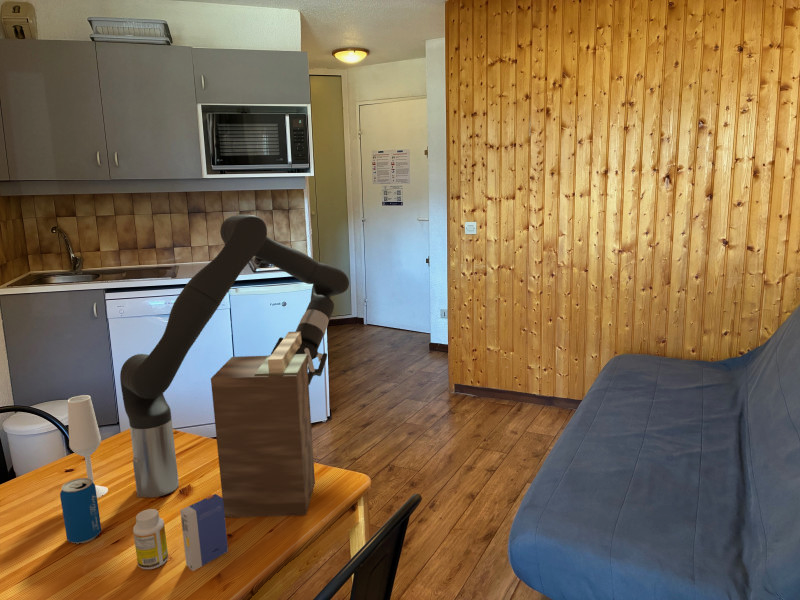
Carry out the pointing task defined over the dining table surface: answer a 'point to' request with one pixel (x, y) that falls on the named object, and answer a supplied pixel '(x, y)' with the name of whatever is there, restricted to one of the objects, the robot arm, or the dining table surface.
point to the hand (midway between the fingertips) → (289, 380)
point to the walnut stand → (264, 437)
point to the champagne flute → (84, 433)
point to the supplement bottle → (150, 539)
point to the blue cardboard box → (204, 531)
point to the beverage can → (80, 510)
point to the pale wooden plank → (284, 352)
